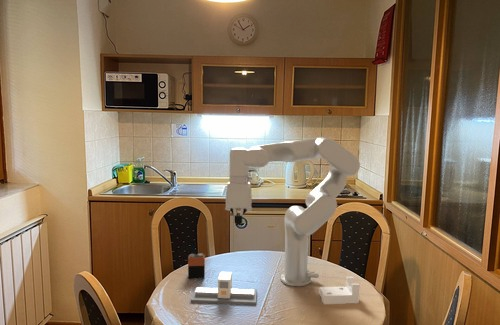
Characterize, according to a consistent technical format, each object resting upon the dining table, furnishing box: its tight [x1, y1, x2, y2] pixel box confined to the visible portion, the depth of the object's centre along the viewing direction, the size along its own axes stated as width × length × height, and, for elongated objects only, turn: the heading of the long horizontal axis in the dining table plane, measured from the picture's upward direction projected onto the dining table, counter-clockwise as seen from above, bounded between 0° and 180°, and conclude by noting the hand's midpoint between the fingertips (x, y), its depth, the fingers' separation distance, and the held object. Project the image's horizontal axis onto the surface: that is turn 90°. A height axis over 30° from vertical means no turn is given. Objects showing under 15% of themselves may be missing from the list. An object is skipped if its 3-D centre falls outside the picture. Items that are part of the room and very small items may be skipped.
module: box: [217, 271, 233, 298], centre depth 141 cm, size 4×8×7 cm, turn 177°
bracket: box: [318, 276, 360, 305], centre depth 141 cm, size 13×7×8 cm, turn 94°
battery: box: [187, 252, 206, 280], centre depth 159 cm, size 4×7×10 cm, turn 96°
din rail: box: [195, 287, 255, 298], centre depth 141 cm, size 22×4×2 cm, turn 87°
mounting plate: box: [190, 286, 258, 306], centre depth 142 cm, size 24×10×1 cm, turn 87°
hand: (238, 224), depth 149 cm, fingers closed
